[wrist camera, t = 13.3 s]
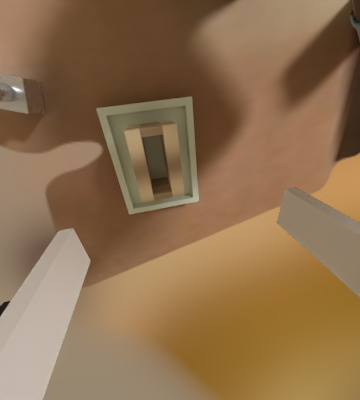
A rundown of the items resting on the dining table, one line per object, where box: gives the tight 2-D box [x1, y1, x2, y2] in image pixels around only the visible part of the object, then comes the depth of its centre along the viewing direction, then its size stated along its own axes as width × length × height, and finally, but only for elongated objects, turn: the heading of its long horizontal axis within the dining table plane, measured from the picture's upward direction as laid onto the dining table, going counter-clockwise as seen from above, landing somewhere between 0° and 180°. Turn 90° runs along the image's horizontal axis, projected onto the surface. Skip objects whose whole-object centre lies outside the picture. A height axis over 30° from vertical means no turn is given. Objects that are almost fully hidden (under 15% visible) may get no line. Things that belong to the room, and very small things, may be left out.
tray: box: [96, 96, 199, 215], centre depth 28 cm, size 17×13×3 cm
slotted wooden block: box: [124, 120, 184, 203], centre depth 26 cm, size 12×6×6 cm, turn 6°
